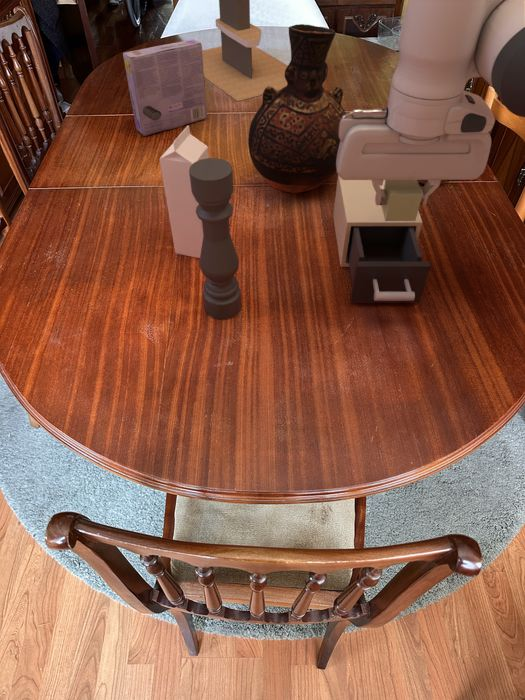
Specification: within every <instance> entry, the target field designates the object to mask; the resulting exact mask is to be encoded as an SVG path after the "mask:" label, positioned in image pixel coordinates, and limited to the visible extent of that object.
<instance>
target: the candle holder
mask: <svg viewBox="0 0 525 700" xmlns="http://www.w3.org/2000/svg"><path fill="white" fill-rule="evenodd" d="M233 170H234V169H233V165H232V164H231V163H230V162H229V161H228V160H226V159H223V158H218V157H209V158H207V159H201V160H199V161H197V162H194V163H193V164H192V165H191V166H190V169H189V175H190V183H191V191H192V194H193V196H194V198H195V199H196V201H197V202H198V204H199V205H198V206H197V207H196V214H197V216H198V218H199V219H200V220H202V227H203V242H202V249H201V255H200V258H199V261H198V265H199V266H198V267H199V269H200V270H201V273H202V275H203V276H204V277H205V278H206V279H205V281H204V282H203V290H202V298H203V306H204V310H205V313H206V315H208V317H210V318H212V319H214V320H215V319H216V320H229V319H232V318H234V317H236V316H237V315H239V313H240V312H241V310H242V292H241V288H240V286H239V285H240V283H239V281H238V279H237V277H236V276H235V275H236V273H237V272H238V270H239V267H240V266H239V265H240V258H239V256H238V253H237V250H236V247H235V245H234V242H233V239H232V236H231V232H230V218H231V217H232V216H233V213H234V212H233V211H234V207H233V205H232V203H230V200H231V199H232V196H233V194H234V171H233Z"/></svg>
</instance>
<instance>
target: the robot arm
mask: <svg viewBox="0 0 525 700" xmlns="http://www.w3.org/2000/svg"><path fill="white" fill-rule="evenodd" d="M406 1H407V2H406V5H405V9H404V13H403V18H402V23H401V26H400V27H401V28H400V33H399V37H398V39H399V40H398V61H397V65H396V68H395V70H394V73H393V74H392V78H391V83H390V87H389V94H388V99H387V105H386V108H385V107H383V108H369V109H368V108H367V109H365V108H364V109H363V108H354V109H352V110H351V111H350V112H347V113H346V114H345V115H344V116H343V117H342V118H341V120H340V122H339V129H338V137H339V139H340V144H339V148H338V153H337V158H336V169H337V171H336V174H337V176H338V175H339V176H340V177H341V179H343V180H371V181H372V184H373V187H374V189H375V191H376V195H375V203H376V205H386V201H387V198H388V194H387V191H386V189H381V188H380V186H382V185H383V181H384V180H428V182H427V183H426V184H423V186H422V187H421V188H420V189H421V192H422V198H421V202H420V206H426V205H427V203H428V198H429V196H431V195H432V194H433V193H434V192H435V191H436V190H437V189H438V188H439V187H440V182H441V180H446V181H453V180H454V181H458V180H459V181H460V180H462V181H466V180H469V181H473V180H476V179H478V178H479V177H481V176H482V174H484V172H485V169H486V167H487V164H488V162H489V161H488V160H489V156H490V153H491V148H492V137H491V135H490V132H491V131H492V130H493V127H494V126H495V121H496V119H495V115H494V113H493V111H492V109H491V108H490V106H489V105H488V104H487V102H486V101H485V100H484V99H483V98H482V97H481V96H480V95H478V94H475V93H473V92H470V91H466V90H465V89H466V85H467V83H468V81H469V80H472V79H473V78H482V79H483V80H484V81H485V82H486V83H487V84H488V85H489V86H490V87H491V88H492V89H493V90H494V92H495V94H496V96H498V98H499V100H501V102H502V104H503V105H504V107H505V108H506V110H508V112H510V113H512V114H513V115H514V116H518V117H522V118H525V0H406Z"/></svg>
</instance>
